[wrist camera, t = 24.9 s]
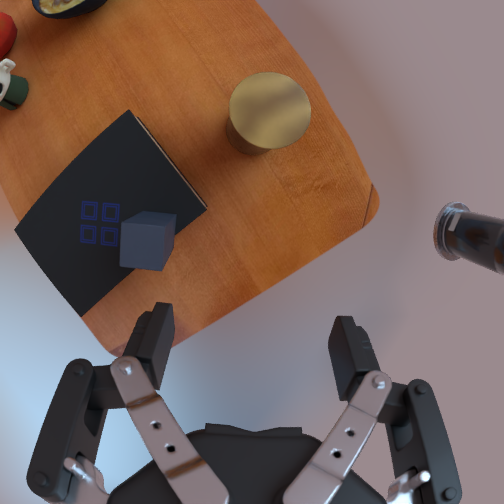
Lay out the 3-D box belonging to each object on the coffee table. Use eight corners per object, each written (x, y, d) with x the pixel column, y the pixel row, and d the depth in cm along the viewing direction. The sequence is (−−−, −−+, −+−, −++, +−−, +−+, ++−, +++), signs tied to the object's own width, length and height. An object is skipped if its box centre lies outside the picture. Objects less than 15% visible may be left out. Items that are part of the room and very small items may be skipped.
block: (173, 248, 39) (162, 271, 29) (140, 244, 38) (119, 266, 28) (176, 214, 38) (165, 226, 28) (142, 210, 37) (121, 222, 27)
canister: (292, 126, 43) (326, 107, 30) (258, 169, 44) (278, 165, 31) (248, 91, 41) (263, 57, 27) (211, 134, 42) (211, 114, 28)
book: (34, 222, 41) (13, 229, 34) (139, 118, 40) (128, 108, 33) (94, 300, 45) (80, 317, 39) (207, 205, 44) (207, 210, 38)
